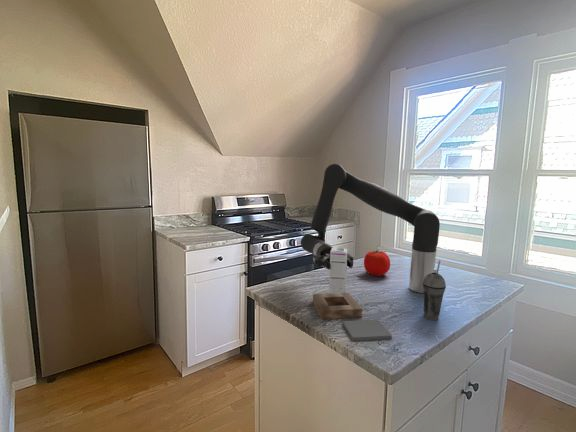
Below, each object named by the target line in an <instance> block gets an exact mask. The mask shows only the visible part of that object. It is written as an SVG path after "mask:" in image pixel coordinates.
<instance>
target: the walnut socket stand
mask: <svg viewBox="0 0 576 432" xmlns="http://www.w3.org/2000/svg"><path fill="white" fill-rule="evenodd" d="M312 303H313V305H314V307H315V309H316V311H317V313H318V315H319V317H320V319H321V320H331V319H333V320H335V319H352V318H353V319H355V318H362V317H363V308H362V307H361V306H360V304H359V303H358V302H357V301H356V300H355V299H354V297H353V296H352V295H351V293H350V292H345V293H343V292H335V293H333V292H331V293H312Z"/></svg>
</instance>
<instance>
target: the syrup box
mask: <svg viewBox="0 0 576 432" xmlns="http://www.w3.org/2000/svg"><path fill="white" fill-rule="evenodd" d="M347 254H348V248H345V247H340V246H339V247H338V246H337V247H336V246H335V247H334V246H332V248H331V251H330V264H331V269H329V275H328V277H329V280H328V281H329V282H328V284H329V285H328V291H329V292H332V293H333V292H335V293H346V289H347V288H346V287H347V275H348V274H347V271H348V266H347Z"/></svg>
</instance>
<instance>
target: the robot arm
mask: <svg viewBox="0 0 576 432" xmlns="http://www.w3.org/2000/svg"><path fill="white" fill-rule="evenodd" d="M323 174H324V176H323V182H322V188H321V192H320V194H319V199H318V202H317V205H316V208H315V211H314V213H313V216H312V220H311V222H310V229H311V230H314V231H315V232H316V233H317V235H313V234H309V233H307V234H306V233H305V234H304V235H303V236H302V237H301V239H300V245H301V248H302V249H303V250H305V251H306V252H308V253H310V254H312V255H313V256H312V257H313V258H312V263H314V265H315V266H316V267H321V266H322V267H323V268H325V269H326V270H329V271H330V269H331V264H330V251H331V248H332V247H333V246H332V245H331V244H329V243H327V242H326V232H327V228H328V227H327V226H328V224H329V220H330V218H331V214H332V211H333V205H334V201H335V197H336V194H337V192H338V190H339V189H340V190H343V191H344V192H347V193H349V194H352V195H353V196H354V197H356V198H357V199H359V200H361V201H362V203H365V204H367V205H368V206H371V207H372V208H373V209H376V210H378V211H380V212H382V213H384V214H388V215H392V216H394V217H397V218H400V219H402V220H404V221H405V222H407V223H409V224H410V225H412V226H413V236H412V237H413V239H412V242H411V243H412V244H411V258H410V268H409V281H408V289H409V290H411V291H412V292H415V293H420V294H424V290H423V280H424V278H425V276H426V275H428V274H429V273H436V272H437V268H436V259H437V258H436V255H437V249H438V248H437V247H438V244H439V235H440V228H441V227H440V219H439V217H438V216H437V215H436V213H434V212H433V211H431V210H427V209H426V208H422V207H419V206H417V205H414V204H413V203H410V202H409V201H407V200H405V199H404V198H402V197H401V196H399V195H398V194H396V193H394V192H392V191H390V190H389V189H387V188H385V187H383V186H380V185H378V184H376V183H374V182H370V181H367V180H364V179H361V178H358V177H356V176H355V175H353V174H351V173H349V172H348V171H347V170H345V169H344V167H343V166H342V165H341V164H338V163H331V164H329V165H328V166H327V167H326V169H325V170H324V172H323ZM353 267H354V257H353V256H352V255H351V254H349V253H347V268H349V269H352V268H353Z"/></svg>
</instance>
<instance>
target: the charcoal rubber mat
mask: <svg viewBox="0 0 576 432" xmlns="http://www.w3.org/2000/svg"><path fill="white" fill-rule="evenodd" d="M342 325H343V327H344V329H345V330H346V332H347V334H348V336H349V337H350V339H351V340H352V341H353V342H354V341H371V340H373V341H374V340H390V339H392V338H393V335H392V334H391V332H389V330H388V329H387V328H386V327H385V326H384V324H383V323H382V322H381V321H380V320H379V319H363V320H342Z"/></svg>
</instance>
